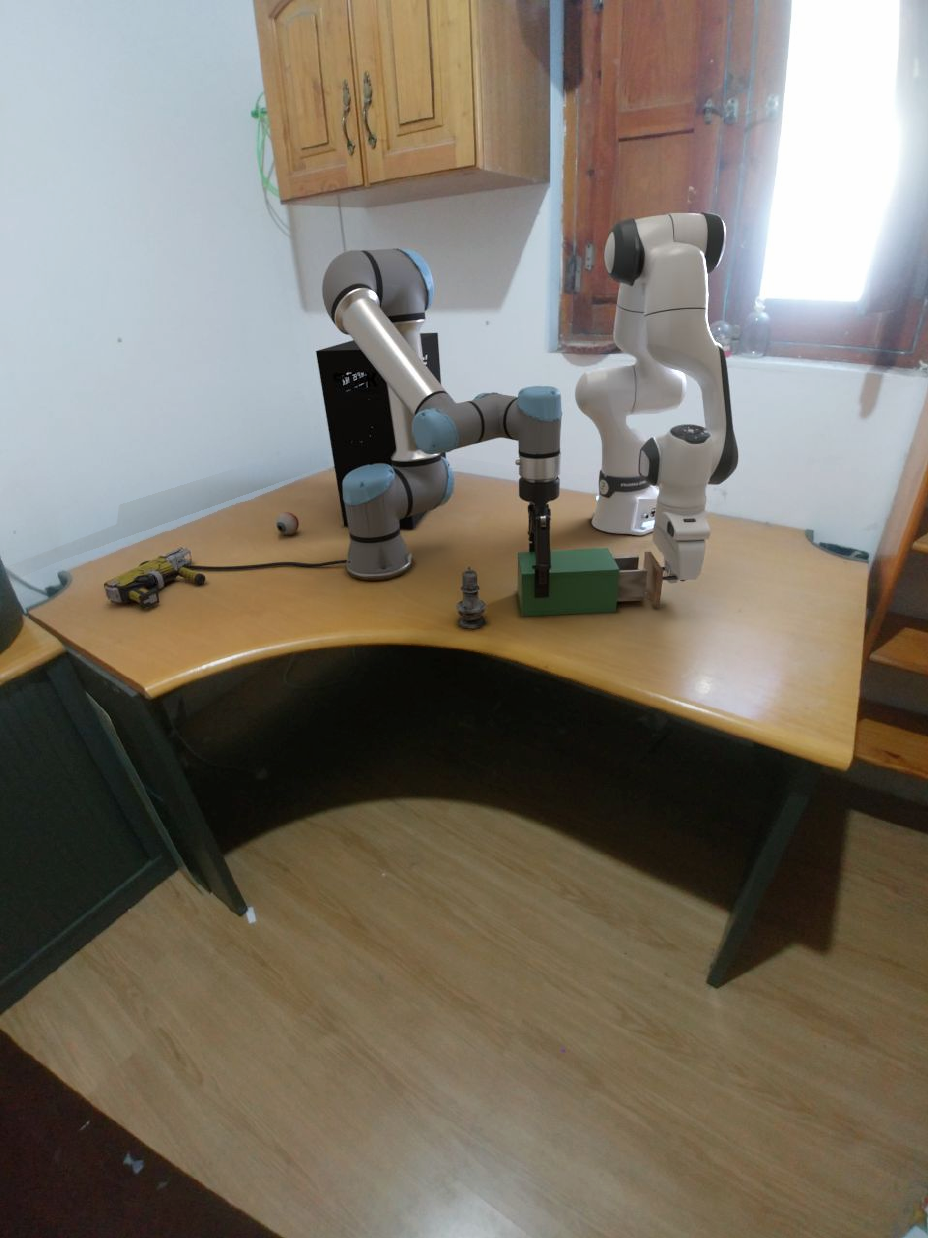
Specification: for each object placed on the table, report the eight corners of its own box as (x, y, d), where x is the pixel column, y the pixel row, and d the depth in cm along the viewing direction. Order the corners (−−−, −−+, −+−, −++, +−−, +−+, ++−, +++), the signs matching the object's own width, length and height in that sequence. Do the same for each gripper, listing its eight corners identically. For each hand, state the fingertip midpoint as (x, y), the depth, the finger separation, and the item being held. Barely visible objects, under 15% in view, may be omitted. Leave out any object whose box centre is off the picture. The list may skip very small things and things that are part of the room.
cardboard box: (413, 528, 164) (395, 348, 141) (344, 526, 168) (315, 350, 146) (447, 485, 195) (437, 332, 173) (388, 484, 200) (371, 334, 177)
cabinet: (605, 588, 128) (608, 547, 124) (616, 612, 119) (619, 569, 115) (517, 592, 129) (517, 552, 124) (521, 616, 120) (521, 574, 115)
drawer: (672, 581, 127) (677, 550, 123) (687, 602, 119) (692, 569, 116) (565, 587, 128) (566, 555, 124) (572, 608, 120) (573, 575, 116)
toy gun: (228, 555, 146) (178, 544, 150) (153, 596, 126) (97, 583, 130) (231, 573, 149) (181, 562, 153) (157, 616, 129) (102, 602, 132)
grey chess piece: (484, 630, 116) (481, 573, 110) (454, 628, 117) (450, 572, 111) (489, 614, 121) (487, 560, 115) (460, 613, 122) (457, 559, 116)
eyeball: (273, 537, 164) (268, 516, 161) (287, 528, 169) (282, 508, 166) (291, 539, 161) (286, 518, 158) (305, 530, 166) (301, 510, 163)
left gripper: (514, 460, 121) (515, 561, 132) (524, 498, 101) (525, 612, 112) (551, 458, 121) (549, 559, 132) (569, 495, 101) (565, 610, 112)
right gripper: (648, 497, 124) (642, 559, 131) (678, 535, 106) (668, 604, 113) (679, 496, 124) (671, 558, 131) (714, 534, 106) (702, 603, 113)
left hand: (538, 583), depth 122 cm, fingers closed on cabinet, 10 cm apart
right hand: (670, 580), depth 122 cm, fingers closed, pressing on drawer
